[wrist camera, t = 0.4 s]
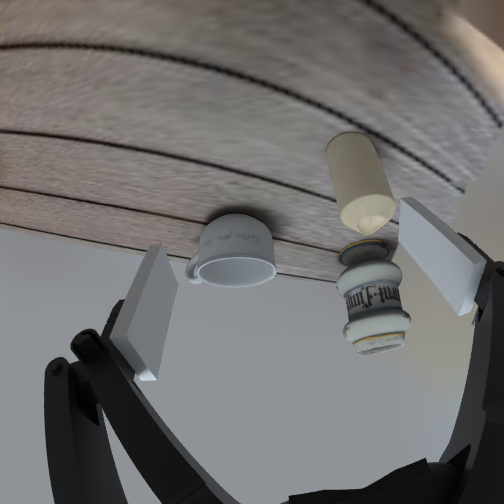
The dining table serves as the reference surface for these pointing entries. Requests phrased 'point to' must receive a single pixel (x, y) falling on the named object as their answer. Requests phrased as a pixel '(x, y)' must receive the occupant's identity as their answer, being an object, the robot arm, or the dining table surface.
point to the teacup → (233, 253)
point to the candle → (359, 183)
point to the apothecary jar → (372, 298)
